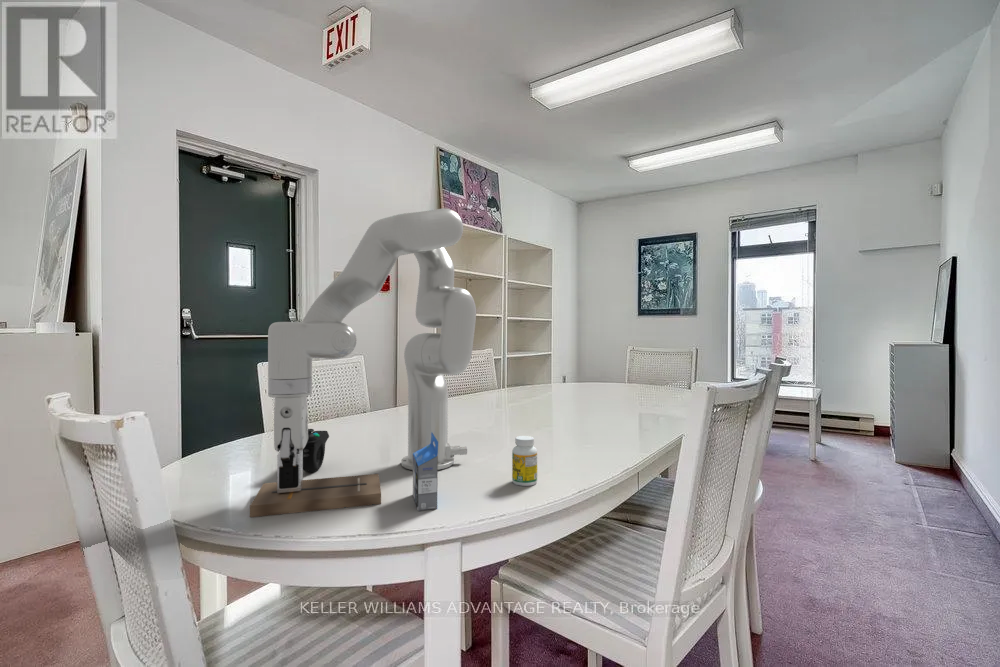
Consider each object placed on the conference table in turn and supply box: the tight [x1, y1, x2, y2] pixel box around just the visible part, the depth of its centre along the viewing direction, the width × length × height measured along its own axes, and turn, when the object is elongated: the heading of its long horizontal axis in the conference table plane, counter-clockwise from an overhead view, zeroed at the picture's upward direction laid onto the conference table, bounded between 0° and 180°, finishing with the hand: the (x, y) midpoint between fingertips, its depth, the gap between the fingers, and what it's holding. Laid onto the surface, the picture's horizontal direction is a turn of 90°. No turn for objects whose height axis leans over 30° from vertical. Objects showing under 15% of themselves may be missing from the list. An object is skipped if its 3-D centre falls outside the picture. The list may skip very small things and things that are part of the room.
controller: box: [303, 428, 330, 472], centre depth 107 cm, size 4×12×10 cm, turn 5°
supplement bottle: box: [511, 435, 538, 487], centre depth 99 cm, size 5×5×10 cm
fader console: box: [249, 473, 382, 518], centre depth 89 cm, size 22×12×2 cm, turn 107°
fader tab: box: [276, 450, 304, 493], centre depth 87 cm, size 4×3×7 cm
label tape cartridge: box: [412, 432, 439, 512], centre depth 87 cm, size 9×4×12 cm, turn 17°
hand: (290, 483), depth 87 cm, fingers closed on fader tab, 3 cm apart
